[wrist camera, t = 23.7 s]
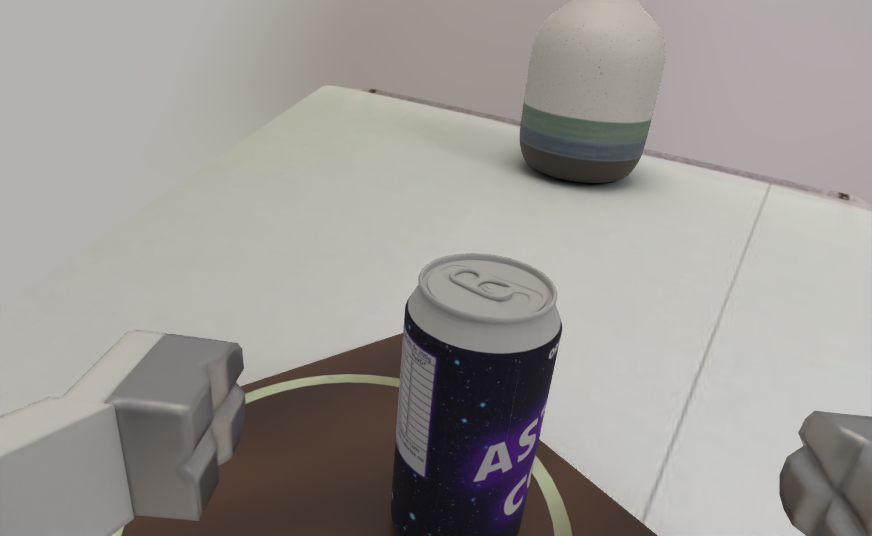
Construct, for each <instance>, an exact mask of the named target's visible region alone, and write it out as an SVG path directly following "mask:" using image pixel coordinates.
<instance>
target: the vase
mask: <svg viewBox="0 0 872 536" xmlns="http://www.w3.org/2000/svg"><path fill="white" fill-rule="evenodd" d="M664 63H665V43H664V38H663V35H662V32H661V30H660V28H659V27H658V25H657V24H656V23H655V21H654V20H653V19H652V18H651V17H650V16H649V14H647V12H645V10H644V9H643V8H642V7H641V5H640V4H639V3H638V1H637V0H572V1H571V2H570V3H568V4H566V5H565V6H563V7H562V8H560V9H559V10H557V11H556V12H554V13H553V14H552V15H551V16H549V17H548V18H547V19H546V21H545V22H544V23H543V24H542V26H541V28H540V29H539V31H538V33H537V35H536V37H535V41H534V43H533V47H532V52H531V57H530V63H529V70H528V76H527V84H526V90H525V97H524V104H523V111H522V119H521V127H520V147H521V151H522V155H523V157H524V159H525V160H526V162H527V163H528V164H529V165H530V166H531V167H533V168H534V169H536V170H538V171H540V172H542V173H544V174H546V175H549V176H552V177H555V178H559V179H564V180H569V181H575V182H583V183H606V182H612V181H616V180H619V179H622V178H624V177H625V176H627V175H628V174H629V173H630V172H631V171H632V170H633V169H634V168H635V166H636V165H637V163H638V161H639V160H640V158H641V155H642V152H643V149H644V145H645V142H646V138H647V135H648V131H649V127H650V123H651V119H652V115H653V111H654V106H655V102H656V98H657V94H658V90H659V86H660V82H661V78H662V73H663V68H664Z"/></svg>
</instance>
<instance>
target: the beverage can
mask: <svg viewBox="0 0 872 536" xmlns="http://www.w3.org/2000/svg"><path fill="white" fill-rule="evenodd" d="M556 300H557V291H556V287H555V286H554V284H553V282H552V281H551V280H550V279H549V278H548V277H547V276H546V275H545V274H543V273H542V272H540V271H539V270H537V269H536V268H534V267H532V266H530V265H527V264H525V263H522V262H520V261H517V260H513V259H510V258H506V257H502V256H496V255H490V254H476V253H466V254H455V255H449V256H445V257H442V258H438V259H436V260H434V261H432V262H430V263H429V264H427V265H426V266H425V267H424V268H423V269H422V271H421V273H420V275H419V285H418V286H417V287H416V289H415V290H414V292H413V293H412V294H411V296H410V297H409V299H408V301H407V303H406V307H405V319H404V333H403V346H402V359H401V373H400V386H399V400H398V413H397V426H396V440H395V453H394V467H393V480H392V493H391V516H392V520H393V523H394V525H395V527H396V529H397V531H398V533H399V534H400V536H518V533H519V530H520V526H521V522H522V517H523V512H524V507H525V503H526V498H527V493H528V488H529V484H530V479H531V474H532V469H533V465H534V460H535V455H536V451H537V446H538V441H539V436H540V432H541V427H542V422H543V417H544V413H545V408H546V403H547V398H548V394H549V389H550V384H551V380H552V375H553V370H554V365H555V361H556V356H557V351H558V346H559V342H560V337H561V332H562V323H561V319H560V316H559V313H558V310H557V308H556V305H555V304H556Z"/></svg>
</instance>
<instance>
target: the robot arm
mask: <svg viewBox="0 0 872 536" xmlns="http://www.w3.org/2000/svg"><path fill="white" fill-rule="evenodd" d="M243 369H244V365H243V354H242V348H241V347H240V346H239V344H238V343H234V342H227V341H219V340H212V339H205V338H197V337H190V336H183V335H176V334H166V333H160V332H151V331H143V330H133V331H129V332H127V333H125V334H124V335H123V336H122V337H121V338H120V339H119V340H118V341H117V342H116V343H115V344H114V345H113V346H112V347H111V348H110V349H109V350H108V351H107V352H106V353H105V354H104V355H103V356H102V357H101V358H100V359H99V360H98V361H97V362H96V363H95V364H94V365H93V366H92V367H91V368H90V369H89V370H88V371H87V372H86V373H85V374H84V375H83V376H82V377H81V378H80V379H79V380H78V381H77V382H76V383H75V384H74V385H73V386H72V387H71V388H70V389H69V390H68V391H67V392H66V393H65V394H64V395H63V396H62V397H61V398H55V397H47V398H45V399H42V400H40V401H37V402H35V403H32V404H30V405H27V406H25V407H22V408H20V409H17V410H15V411H12V412H10V413H7V414H5V415H2V416H0V536H111V535H113V534H114V533H115V532H117V531H118V530H119V529H121V528H122V527H123V526H125V525H126V524H128V523H129V522H130V521H132V520H133V519H134V515H140V516H151V517H162V518H173V519H183V520H194V521H199V520H200V518H201V516H202V514H203V512H204V510H205V508H206V506H207V504H208V502H209V501H210V499H211V497H212V495H213V493H214V491H215V489H216V487H217V485H218V483H219V475H218V466H219V465H221V464H223V463H224V462H226V461H227V460H229V459H231V458H232V456H233V454H234V452H235V450H236V448H237V446H238V444H239V440H240V437H241V433H242V430H243V426H244V421H245V411H246V399H245V392H244V391H243V390H242V389H241V388H240V386H239V385H238V384H237V383H236V381H237V379H238V377H239V376H240V374H241V372H242V371H243ZM799 436H800V438H801V441H802V443H803V447H801V448H800V449H798V450H797V451H795V452H794V453H792V454H791V455H789V456H788V457H787V458H786V461H785V463H784V466H783V468H782V471H781V473H780V498H781V501H782V505H783V508H784V511H785V512H786V514H787V516H788V518H789V520H790V522H791V523H792V525H793V526H795V527H796V528H797V529H798V530H800V531H801V532H802V533H803V534H805V535H806V536H872V417H868V416H859V415H849V414H840V413H830V412H821V411H814V412H813V413H812V414H810V415H809V416H808V417H807V418H806V419H805V421H804V423H803V425H802V427H801V429H800V431H799Z"/></svg>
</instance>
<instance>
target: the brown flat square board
mask: <svg viewBox="0 0 872 536" xmlns="http://www.w3.org/2000/svg"><path fill="white" fill-rule="evenodd" d="M402 346H403V333H402V334H399V335H396V336H392V337H389V338H386V339H383V340H380V341H377V342H374V343H371V344H368V345H365V346H362V347H359V348H356V349H353V350H350V351H347V352H344V353H341V354H338V355H335V356H332V357H329V358H326V359H323V360H320V361H317V362H314V363H311V364H308V365H304V366H301V367H298V368H295V369H292V370H289V371H286V372H283V373H280V374H277V375H274V376H271V377H268V378H265V379H262V380H259V381H256V382H253V383H250V384H247V385H244V386H241V387H240V388H241V389H242V390H243V391H244V392H245V399H246V411H245V421H244V426H243V430H242V433H241V437H240V440H239V444H238V446H237V448H236V450H235V452H234V454H233V456H232V458H231V459H229V460H227V461H226V462H224V463H223V464H221V465H219V466H218V475H219V483H218V485H217V487H216V489H215V491H214V493H213V495H212V497H211V499H210V501H209V502H208V504H207V506H206V508H205V510H204V512H203V514H202V516H201V518H200V520H199V521H194V520H183V519H173V518H162V517H151V516H140V515H134V519H133V520H132V521H130V522H129V523H128V524H126V525H125V526H123V527H122V528H121V529H119V530H118V531H117V532H115V533H114V534H113V535H111V536H400V534H399V533H398V531H397V529H396V527H395V525H394V523H393V520H392V516H391V493H392V480H393V467H394V453H395V440H396V426H397V413H398V400H399V386H400V373H401V359H402ZM518 536H657V535H656V534H655V533H654V532H652V531H651V530H650V529H649V528H647V527H646V526H645V525H644V524H643V523H641V522H640V521H639V520H638V519H636V518H635V517H634V516H633V515H632V514H630V513H629V512H628V511H627V510H625V509H624V508H623V507H622V506H620V505H619V504H618V503H617V502H616V501H614V500H613V499H612V498H611V497H609V496H608V495H607V494H606V493H604V492H603V491H602V490H601V489H600V488H598V487H597V486H596V485H595V484H593V483H592V482H591V481H590V480H588V479H587V478H586V477H585V476H584V475H582V474H581V473H580V472H579V471H577V470H576V469H575V468H574V467H573V466H571V465H570V464H569V463H568V462H566V461H565V460H564V459H563V458H561V457H560V456H559V455H558V454H557V453H555V452H554V451H553V450H552V449H550V448H549V447H548V446H547V445H545V444H544V443H543V442H542V441H541V440H539V441H538V446H537V451H536V455H535V460H534V465H533V469H532V474H531V479H530V484H529V488H528V493H527V498H526V503H525V507H524V512H523V517H522V522H521V526H520V530H519V533H518Z"/></svg>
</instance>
